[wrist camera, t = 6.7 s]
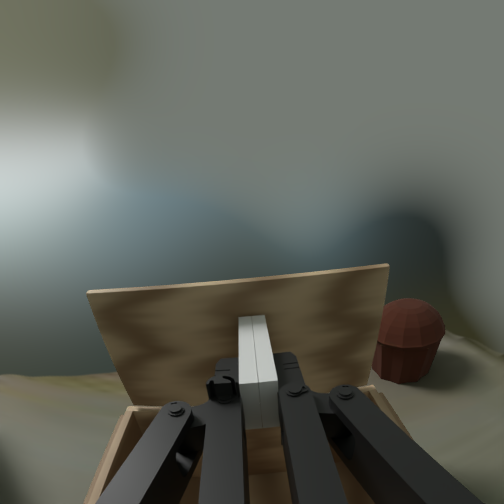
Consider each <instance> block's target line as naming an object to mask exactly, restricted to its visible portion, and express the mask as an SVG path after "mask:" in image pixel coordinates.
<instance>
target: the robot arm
mask: <svg viewBox="0 0 504 504" xmlns="http://www.w3.org/2000/svg"><path fill="white" fill-rule="evenodd" d="M252 325H253V327H252ZM253 336H254V337H253ZM206 388H207V393H208V397H209V400H208V401H207V402H205V403H204V404H201V405H198V406H194V407H191V406H190V405H189V404H188V403H187V402H183V401H173V402H169V403H167V404H165V405H164V406H163V407H162V408H161V409H160V411H159V412H158V414H157V415H156V417H155V418H154V420H153V421H152V423H151V424H150V426H149V427H148V428H147V430H146V431H145V433H144V434H143V436H142V437H141V439H140V440H139V441H138V443H137V444H136V446H135V447H134V449H133V450H132V452H131V453H130V454H129V456H128V457H127V459H126V460H125V462H124V463H123V464H122V466H121V467H120V469H119V470H118V472H117V473H116V475H115V476H114V477H113V479H112V480H111V482H110V483H109V484H108V486H107V487H106V489H105V490H104V492H103V493H102V494H101V496H100V497H99V499H98V500H97V502H96V503H95V504H179V503H180V500H181V498H182V496H183V494H184V492H185V490H186V488H187V486H188V483H189V481H190V479H191V477H192V475H193V473H194V470H195V468H196V466H197V464H198V462H199V459H200V457H201V455H202V453H203V459H202V469H201V479H200V490H199V501H198V504H250V494H249V476H248V458H247V438H246V431H245V430H247V429H259V428H262V424H263V428H270V427H279V426H280V427H281V445H283V451H284V457H285V463H286V469H287V475H288V481H289V487H290V494H291V500H292V504H348V502H347V499H346V496H345V493H344V490H343V486H342V483H341V480H340V477H339V474H338V471H337V468H336V465H335V462H334V459H333V456H332V453H331V450H330V447H329V444H330V445H331V447H332V448H333V449H334V451H335V452H336V453H337V455H338V456H339V457H340V459H341V460H342V461H343V463H344V464H345V465H346V467H347V468H348V469H349V470H350V472H351V473H352V474H353V476H354V477H355V478H356V480H357V481H358V482H359V483H360V485H361V486H362V487H363V489H364V490H365V491H366V492H367V494H368V495H369V496H370V497H371V499H372V500H373V501H374V502H375V504H485V503H483V502H481V501H480V500H479V499H478V498H477V497H476V496H475V495H473V494H472V493H471V492H470V491H469V490H468V489H467V488H465V487H464V486H463V485H462V484H461V483H460V482H459V481H458V480H456V479H455V478H454V477H453V476H452V475H451V474H450V473H449V472H447V471H446V470H445V469H444V468H443V467H442V466H441V465H440V464H439V463H438V462H436V461H435V460H434V459H433V458H432V457H431V456H430V455H429V454H428V453H427V452H425V451H424V450H423V449H422V448H421V447H420V446H419V445H418V444H417V443H416V442H415V441H414V440H412V439H411V438H410V437H409V436H408V435H407V434H406V433H405V432H404V431H403V430H402V429H401V428H400V427H398V426H397V425H396V424H395V423H394V422H393V421H392V420H391V419H390V418H389V417H388V416H387V415H386V414H385V413H384V412H383V411H381V410H380V409H379V408H378V407H377V406H376V405H375V404H374V403H373V402H372V401H371V400H370V399H369V398H368V397H367V396H366V395H365V394H364V393H363V392H362V391H360V390H359V389H358V388H357V387H355V386H352V385H344V384H343V385H338V386H336V387H334V388H332V390H331V391H330V393H317V392H314V391H312V390H311V389H310V388H309V387H308V386H307V385H305V382H304V379H303V376H302V373H301V370H300V367H299V363H298V360H297V357H296V356H295V355H294V354H293V353H292V352H282V353H272V349H271V344H270V339H269V334H268V329H267V324H266V319H265V315H256V316H252V317H251V316H245V317H239V357H236V358H221V359H220V360H219V361H218V362H217V363H216V368H215V376H213V377H211V378H210V379H209V380H207V382H206ZM259 396H260V397H259ZM260 405H261V407H260ZM261 415H262V418H261ZM328 442H329V444H328Z"/></svg>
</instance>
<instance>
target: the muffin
mask: <svg viewBox="0 0 504 504" xmlns="http://www.w3.org/2000/svg"><path fill="white" fill-rule="evenodd" d="M444 335H445V325H444V323H443V320H442V317H441V316H440V314H439V312H438V311H437V310H436V309H434V308H433V307H432V306H431V305H430V304H428V303H426V302H424V301H421V300H419V299H410V298H408V299H399V300H395V301H393V302H390V303H389V304H387V305H385V306H384V308H383V313H382V319H381V324H380V329H379V334H378V339H377V344H376V349H375V353H374V358H373V362H372V369H373V370H374V371H375V372H376V373H377V374H378V375H379V377H380V378H381V379H384V380H388V381H392V382H394V383H397V384H401V383H407V382H417V381H418V380H419V379H420V378H421V377H423V376H424V375H426V374H427V373H428V372H429V369H430V367H431V364H432V362H433V360H434V357H435V355H436V352H437V349H438V347H439V344H440V341H441V339H442V338H443V336H444Z"/></svg>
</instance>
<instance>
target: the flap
mask: <svg viewBox="0 0 504 504" xmlns="http://www.w3.org/2000/svg"><path fill="white" fill-rule="evenodd" d="M389 267H390V266H389V265H388V264H379V265H370V266H362V267H353V268H344V269H336V270H326V271H317V272H307V273H298V274H288V275H279V276H268V277H257V278H247V279H235V280H226V281H225V280H224V281H212V282H202V283H201V282H200V283H188V284H176V285H163V286H148V287H133V288H118V289H102V290H88V292H87V293H86V294H87V298H88V300H89V303H90V306H91V309H92V312H93V314H94V317H95V320H96V322H97V325H98V328H99V330H100V333H101V335H102V337H103V340H104V343H105V345H106V347H107V350H108V352H109V354H110V357H111V359H112V361H113V363H114V366H115V368H116V370H117V372H118V374H119V376H120V379H121V381H122V383H123V385H124V387H125V389H126V391H127V393H128V395H129V397H130V399H131V401H132V403H133V405H144V406H164V405H165V404H167V403H169V402H173V401H183V402H187V403H188V404H189V405H190V406H198V405H201V404H204V403H205V402H207V401H208V400H209V397H208V393H207V388H206V382H207V380H209V379H210V378H211V377H213V376H215V368H216V363H217V362H218V361H219V360H220V359H221V358H236V357H239V317H245V316H251V317H252V316H256V315H265V319H266V324H267V329H268V334H269V339H270V344H271V349H272V353H282V352H292V353H293V354H294V355H295V356H296V357H297V360H298V363H299V367H300V370H301V373H302V376H303V379H304V382H305V385H307V386H308V387H309V388H310V389H311V390H312V391H314V392H317V393H329V392H330V391H331V390H332V388H334V387H336V386H338V385H343V384H344V385H352V386H355V387H359V386H364V385H367V382H368V378H369V374H370V370H371V366H372V362H373V358H374V353H375V349H376V344H377V339H378V334H379V329H380V324H381V319H382V313H383V308H384V302H385V295H386V289H387V282H388V275H389ZM252 327H253V325H252ZM253 337H254V336H253ZM259 397H260V396H259Z"/></svg>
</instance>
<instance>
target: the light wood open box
mask: <svg viewBox="0 0 504 504" xmlns="http://www.w3.org/2000/svg"><path fill="white" fill-rule="evenodd" d="M358 389H359V390H360V391H362V392H363V393H364V394H365V395H366V396H367V397H368V398H369V399H370V400H371V401H372V402H373V403H374V404H375V405H376V406H377V407H378V408H379V409H380V410H381V411H383V412H384V413H385V414H386V415H387V416H388V417H389V418H390V419H391V420H392V421H393V422H394V423H395V424H396V425H397V426H398V427H400V428H401V429H402V430H403V431H404V432H405V433H406V434H407V435H408V436H409V437H410V438H411V439H412V437H411V436H410V434H409V432H408V431H407V429H406V428H405V426H404V425H403V423H402V422H401V420H400V419H399V417H398V416H397V414H396V412H395V411H394V409H393V408H392V406H391V405H390V403H389V402H388V400H387V399H386V397H385V396H384V394H383V393H378V392H377V390H376V389H375V387H374V386H373V385H370V386H366V387H361V388H358ZM260 407H261V405H260ZM161 408H162V407H135V406H128V407H127V410H126V412H125V414H124V415H120V417H119V420H118V422H117V424H116V426H115V429H114V431H113V433H112V435H111V438H110V440H109V442H108V445H107V447H106V449H105V452H104V454H103V456H102V459H101V461H100V463H99V466H98V468H97V471H96V473H95V475H94V478H93V480H92V483H91V485H90V488H89V490H88V493H87V495H86V498H85V500H84V503H83V504H95V503H96V502H97V500H98V499H99V497H100V496H101V494H102V493H103V492H104V490H105V489H106V487H107V486H108V484H109V483H110V482H111V480H112V479H113V477H114V476H115V475H116V473H117V472H118V470H119V469H120V467H121V466H122V464H123V463H124V462H125V460H126V459H127V457H128V456H129V454H130V453H131V452H132V450H133V449H134V447H135V446H136V444H137V443H138V441H139V440H140V439H141V437H142V436H143V434H144V433H145V431H146V430H147V428H148V427H149V426H150V424H151V423H152V421H153V420H154V418H155V417H156V415H157V414H158V412H159V411H160V409H161ZM261 418H262V415H261ZM245 431H246V438H247V458H248V476H249V494H250V504H292V500H291V494H290V487H289V481H288V475H287V469H286V463H285V457H284V451H283V445H281V427H280V426H279V427H270V428H263V424H262V428H259V429H247V430H245ZM412 440H413V439H412ZM328 444H329V442H328ZM329 447H330V450H331V453H332V456H333V459H334V462H335V465H336V468H337V471H338V474H339V477H340V480H341V483H342V486H343V490H344V493H345V496H346V499H347V502H348V504H375V502H374V501H373V500H372V499H371V497H370V496H369V495H368V494H367V492H366V491H365V490H364V489H363V487H362V486H361V485H360V483H359V482H358V481H357V480H356V478H355V477H354V476H353V474H352V473H351V472H350V470H349V469H348V468H347V467H346V465H345V464H344V463H343V461H342V460H341V459H340V457H339V456H338V455H337V453H336V452H335V451H334V449H333V448H332V447H331V445H330V444H329ZM202 459H203V453H202V455H201V457H200V459H199V462H198V464H197V466H196V468H195V470H194V473H193V475H192V477H191V479H190V481H189V483H188V486H187V488H186V490H185V492H184V494H183V496H182V498H181V500H180V503H179V504H198V501H199V490H200V479H201V469H202Z"/></svg>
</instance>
